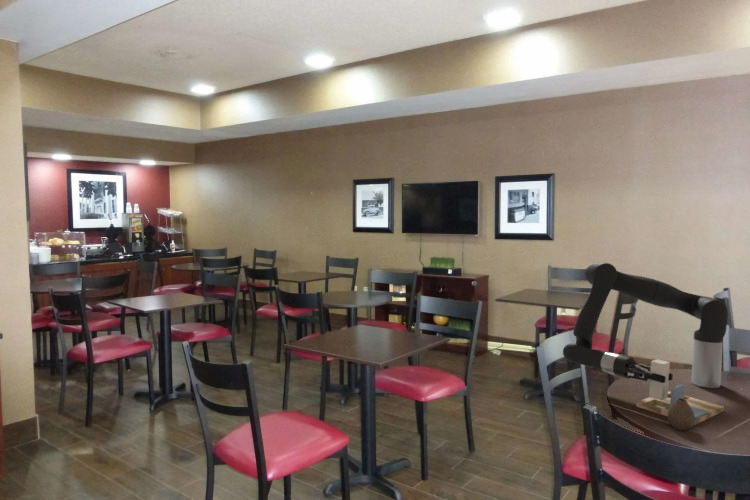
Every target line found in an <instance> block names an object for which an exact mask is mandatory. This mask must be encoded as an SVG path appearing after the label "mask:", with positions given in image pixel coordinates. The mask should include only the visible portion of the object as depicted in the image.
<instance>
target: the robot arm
mask: <svg viewBox="0 0 750 500" xmlns="http://www.w3.org/2000/svg"><path fill="white" fill-rule="evenodd" d="M584 276H585V279H586V280H587V282H588V283H589V284H590V285H591V290H590V294H589V295H588V298H587V300H586V301H585V303H584V305H583V306H582V308H581V310H580V312H579V314H578V315H577V319H576V321H575V324H574V328H573V332H572V334H573V336H574V337H575V338H576V341H575V343H573V342H572V343H568V344H566V345H565V346H564V347H563V349H562V356H563V357H564V358H565V359H566V361H568V362H570V363H574V364H577V365H583V366H587V367H590V368H592V369H595V370H597V371H598V370H599V371H601V372H604V373H607V374H610V375H613V376H615V377H616V376H617V377H620V378H623V379H627V380H629V379H635V380H640V381H645V382H647V381H649V382H650V381H651V380H654V381H658V382H661V383H665V380H666V377H665V376H662V375H659V374H655V373H652V372H650V371H651V363H647V364H644V363H637V362H636V360H635V358H634V357H631V356H628V355H625V354H619V353H615V352H610V351H604V350H602V349H594V348H593V336H594V334H595V332H596V331H595V330H596V329H597V328H596V327H597V325H598V321H599V318H600V315H601V313H602V311H603V307H604V305H605V303H606V301H607V299H608V296H610V295H609V294H610V293H611V292H612V291H615V292H616V291H617V292H619V293H622V294H624V295H626V296H629V297H630V298H634V299H636V300H639V301H642V302H643V303H646V304H650V305H653V306H657V307H661V308H665V309H666V308H667V309H673V310H677V311H681V312H683V313H685V314H687V315H690V316H692V317H695V318H696V319H698V320H700V325H699V328H698V329H696V330H694V332H693V345H692V346H693V347H692V361H691V362H692V364H691V366H692V367H691V379H690V380H691V381H690V382H691V383H692V385H695V386H698V387H701V388H706V389H719V388H720V387H721V379H722V378H721V377H722V361H723V360H722V358H723V341H724V337H725V335H726V332H727V326H728V315H729V312H728V307H727V305H726V304H725V303H724V302H723V301H722V300H721V299H720V300H719V299H717V298H713V297H710V296H704V295H697V294H694V293H689V292H685V291H683V290H680V289H679V288H677V287H675V286H673V285H671V284H669V283H666V282H663V281H660V280H657V279H654V278H651V277H645V276H641V275H634V274H628V273H624V272H621V271H618V270H617V269H616V267H615V266H614V265H613V264H611V263H608V262H595V263H592V264H591V265H589V266H588V267H587V268H586V270H585V272H584ZM673 376H674V375H673V374H672V373H671V372H669V381H672V380H673Z"/></svg>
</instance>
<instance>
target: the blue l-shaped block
mask: <svg viewBox="0 0 750 500" xmlns="http://www.w3.org/2000/svg"><path fill="white" fill-rule="evenodd" d="M670 392H671V400H670V406H671V405H672V404H673V403H675V402H676V400H677V399H678V398H682V399H684V396H685V384H680V383H679V384H678V385H677V384H676V385H675V386H673V387H671V388H670ZM690 407H691V406H690ZM691 408H692V410H693V412H694V417H695V419H696V418H699V417H701V416H703V415H705V414H707V413H708V411H705V410H701V409H698V408H695V407H691Z"/></svg>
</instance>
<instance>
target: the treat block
mask: <svg viewBox="0 0 750 500" xmlns="http://www.w3.org/2000/svg"><path fill="white" fill-rule="evenodd" d="M670 363H671V362H670V361H667V360H661V359H658V358H657V359H653V360H651V361H650V364H651V371H650V372H652V373H655V374H659V375H662V376H665V377H666V380H665V383H661V382H658V381H654V380H651V381H650V380H649V390H648V391H649V392H648V396H649V397H652V398H655V399H659V400H664V399H666V398H668V391H669V381H670V380H669V373H670V368H671V367H670V365H671V364H670Z"/></svg>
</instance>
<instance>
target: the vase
mask: <svg viewBox="0 0 750 500" xmlns="http://www.w3.org/2000/svg"><path fill="white" fill-rule="evenodd" d="M667 419H668V423H669V424H670V425H671V426H672V427H673V428H674V429H676V430H677V431H678V430H679V431H688V430H691V428H692V427H693V426H694V425H693V424H694V419H695V417H694V412H693V410H692V408H691V407H690V406H689V404H688V403H687V400H685V399H682V398H678V399H677V400H676V402H675V403H673V404H672V405H671V406H670V408H669V411H668V416H667Z"/></svg>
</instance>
